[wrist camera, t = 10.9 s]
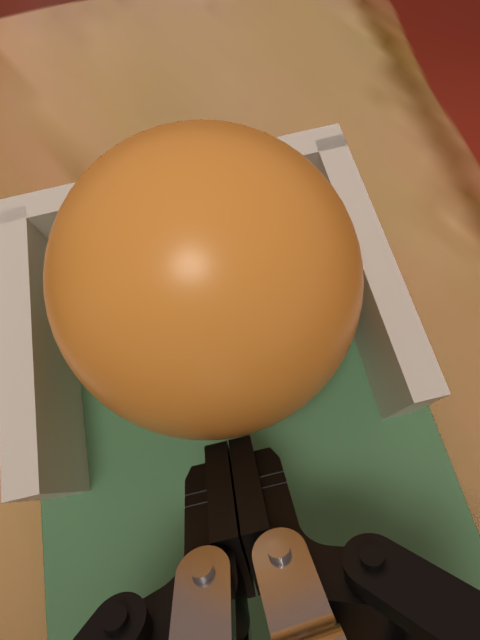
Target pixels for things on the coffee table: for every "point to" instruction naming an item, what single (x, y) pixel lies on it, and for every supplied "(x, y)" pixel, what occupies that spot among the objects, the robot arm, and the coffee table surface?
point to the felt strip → (303, 482)
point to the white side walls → (65, 388)
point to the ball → (203, 280)
